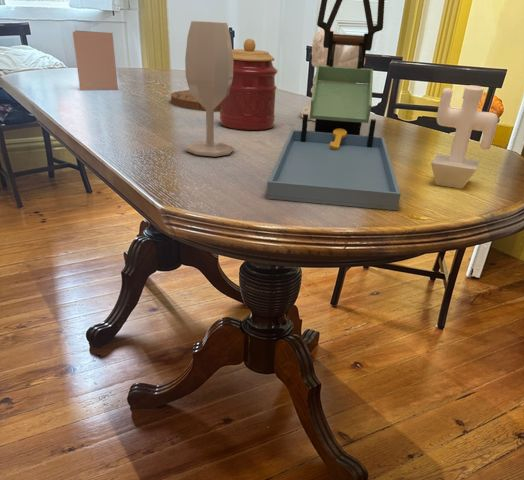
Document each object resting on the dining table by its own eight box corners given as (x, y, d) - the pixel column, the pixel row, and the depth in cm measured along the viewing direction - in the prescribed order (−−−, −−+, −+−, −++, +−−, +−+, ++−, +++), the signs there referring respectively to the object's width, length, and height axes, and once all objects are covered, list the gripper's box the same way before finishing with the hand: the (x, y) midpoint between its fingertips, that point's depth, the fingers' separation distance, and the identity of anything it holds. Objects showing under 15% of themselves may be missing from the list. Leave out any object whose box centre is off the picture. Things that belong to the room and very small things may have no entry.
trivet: (228, 115, 132) (228, 106, 131) (152, 102, 142) (152, 95, 141) (274, 104, 150) (275, 97, 149) (205, 94, 160) (204, 87, 159)
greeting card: (118, 89, 160) (113, 32, 151) (110, 92, 154) (104, 33, 145) (83, 86, 160) (75, 30, 152) (73, 89, 154) (65, 31, 146)
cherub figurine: (328, 112, 143) (337, 28, 131) (359, 121, 134) (372, 31, 123) (290, 115, 136) (297, 26, 125) (320, 124, 128) (330, 29, 117)
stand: (304, 131, 119) (307, 104, 116) (368, 136, 118) (373, 109, 115) (300, 144, 108) (303, 114, 105) (371, 150, 106) (376, 120, 103)
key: (333, 130, 107) (334, 127, 106) (347, 132, 106) (347, 129, 106) (328, 149, 103) (328, 145, 102) (342, 150, 102) (342, 147, 102)
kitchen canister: (230, 131, 115) (231, 39, 105) (212, 120, 124) (212, 35, 115) (282, 130, 119) (289, 42, 109) (262, 119, 129) (265, 37, 119)
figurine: (477, 193, 84) (506, 92, 75) (419, 184, 87) (441, 85, 78) (480, 182, 89) (507, 87, 81) (425, 174, 92) (446, 81, 84)
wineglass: (216, 160, 93) (216, 23, 82) (177, 152, 97) (172, 20, 85) (241, 151, 100) (244, 24, 88) (204, 144, 103) (202, 20, 91)
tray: (290, 142, 109) (291, 129, 107) (381, 149, 107) (383, 137, 106) (266, 198, 76) (267, 181, 75) (397, 210, 74) (400, 193, 73)
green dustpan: (319, 61, 119) (321, 31, 114) (371, 65, 118) (376, 35, 113) (309, 118, 105) (312, 87, 100) (368, 123, 104) (374, 91, 99)
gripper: (408, -59, 105) (387, 67, 118) (312, -64, 107) (302, 61, 120) (412, -64, 99) (390, 70, 112) (310, -69, 101) (300, 64, 114)
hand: (344, 66), depth 116 cm, fingers closed on green dustpan, 7 cm apart
